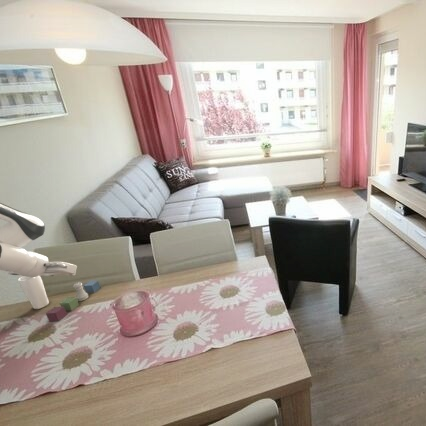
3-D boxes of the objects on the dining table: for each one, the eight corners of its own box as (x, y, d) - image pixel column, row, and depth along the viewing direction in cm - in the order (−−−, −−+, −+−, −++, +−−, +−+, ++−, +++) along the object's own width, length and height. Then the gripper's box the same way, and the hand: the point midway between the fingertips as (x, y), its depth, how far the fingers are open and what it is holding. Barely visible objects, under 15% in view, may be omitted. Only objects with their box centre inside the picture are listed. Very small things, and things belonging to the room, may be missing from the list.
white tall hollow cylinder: (27, 310, 127) (13, 280, 122) (43, 300, 133) (30, 272, 128) (39, 311, 126) (26, 281, 121) (55, 301, 132) (43, 272, 127)
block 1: (58, 321, 119) (55, 313, 117) (49, 321, 119) (45, 313, 117) (67, 314, 122) (63, 306, 121) (57, 314, 122) (54, 307, 121)
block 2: (71, 310, 125) (68, 302, 123) (62, 311, 125) (59, 303, 123) (79, 304, 128) (76, 297, 127) (70, 305, 129) (67, 297, 127)
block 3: (94, 292, 137) (91, 285, 136) (86, 293, 137) (83, 285, 136) (100, 287, 141) (98, 280, 139) (92, 288, 141) (89, 280, 139)
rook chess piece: (79, 302, 130) (72, 287, 127) (75, 299, 132) (69, 284, 130) (90, 297, 133) (85, 282, 131) (87, 294, 136) (81, 279, 133)
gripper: (62, 256, 113) (89, 265, 125) (11, 258, 113) (43, 267, 126) (56, 272, 110) (84, 280, 122) (3, 274, 110) (37, 282, 123)
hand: (63, 273), depth 124 cm, fingers open, 8 cm apart
